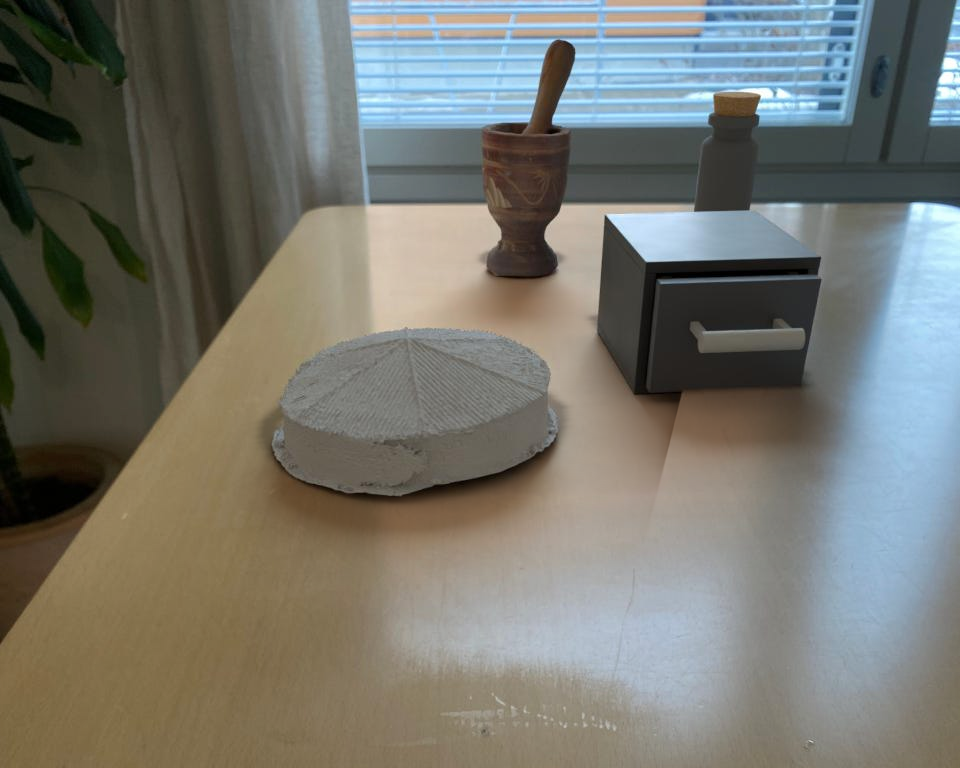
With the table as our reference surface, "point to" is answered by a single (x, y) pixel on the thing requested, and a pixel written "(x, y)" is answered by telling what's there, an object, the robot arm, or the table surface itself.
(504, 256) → the mortar and pestle
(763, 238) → the cabinet
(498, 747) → the table surface
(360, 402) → the grey round squat piece
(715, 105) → the bottle
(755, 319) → the drawer
